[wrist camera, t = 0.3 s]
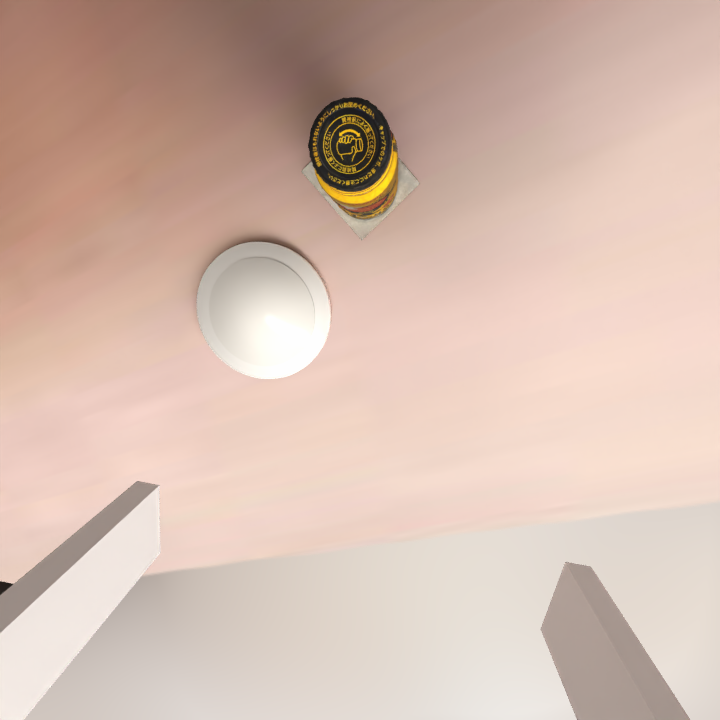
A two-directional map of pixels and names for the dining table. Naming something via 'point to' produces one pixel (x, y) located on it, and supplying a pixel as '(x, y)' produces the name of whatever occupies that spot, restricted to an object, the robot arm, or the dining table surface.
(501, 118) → the dining table surface
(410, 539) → the dining table surface
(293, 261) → the plate
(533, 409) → the dining table surface
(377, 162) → the condiment
